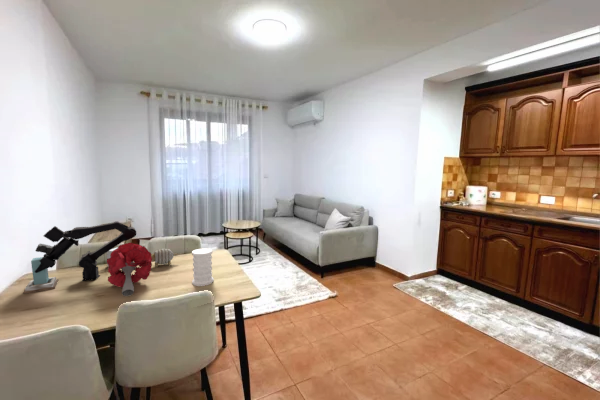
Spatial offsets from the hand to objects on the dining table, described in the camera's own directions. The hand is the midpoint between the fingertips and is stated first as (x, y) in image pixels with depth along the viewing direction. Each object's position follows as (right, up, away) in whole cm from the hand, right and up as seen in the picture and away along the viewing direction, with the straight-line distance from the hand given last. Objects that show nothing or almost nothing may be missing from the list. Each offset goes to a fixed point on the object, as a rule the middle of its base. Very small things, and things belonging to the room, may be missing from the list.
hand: (36, 270), depth 146 cm
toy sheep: (+49, -6, +37) cm, 61 cm away
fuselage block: (+1, -7, +2) cm, 7 cm away
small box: (+18, -5, +36) cm, 41 cm away
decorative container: (+83, -10, +12) cm, 84 cm away
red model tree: (+46, -10, +4) cm, 47 cm away
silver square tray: (+1, -9, +2) cm, 9 cm away
